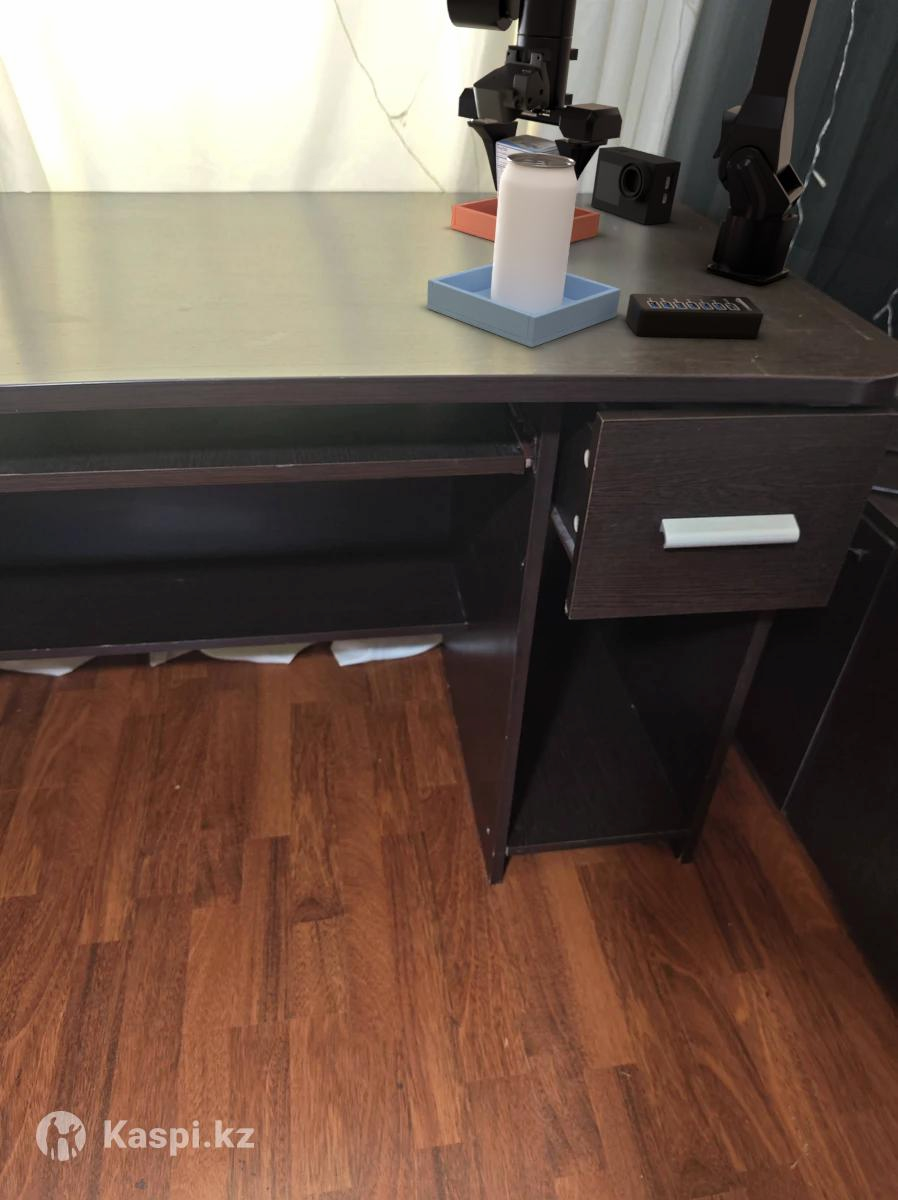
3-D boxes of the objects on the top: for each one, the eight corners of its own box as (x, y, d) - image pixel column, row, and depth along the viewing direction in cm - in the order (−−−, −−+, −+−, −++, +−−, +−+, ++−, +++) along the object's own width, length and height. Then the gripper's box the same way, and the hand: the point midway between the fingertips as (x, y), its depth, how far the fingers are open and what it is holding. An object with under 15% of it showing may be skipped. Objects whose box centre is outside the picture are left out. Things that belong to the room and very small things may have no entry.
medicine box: (567, 227, 97) (568, 143, 92) (534, 236, 96) (534, 151, 90) (528, 213, 103) (527, 132, 97) (497, 220, 101) (494, 139, 96)
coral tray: (597, 235, 100) (600, 213, 99) (531, 252, 93) (534, 228, 91) (518, 214, 106) (520, 192, 105) (450, 228, 99) (451, 205, 98)
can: (557, 322, 74) (577, 170, 67) (484, 313, 75) (495, 162, 67) (564, 299, 79) (583, 156, 72) (495, 291, 80) (507, 148, 73)
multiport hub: (624, 318, 77) (628, 292, 76) (741, 321, 78) (747, 296, 77) (636, 336, 74) (641, 309, 72) (758, 339, 75) (765, 313, 73)
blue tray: (616, 316, 77) (621, 288, 76) (531, 347, 70) (535, 317, 69) (514, 283, 84) (516, 256, 82) (426, 308, 77) (427, 279, 75)
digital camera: (582, 206, 111) (591, 147, 107) (613, 203, 114) (622, 145, 110) (637, 226, 105) (648, 163, 100) (669, 222, 107) (681, 160, 103)
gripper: (425, 28, 88) (421, 191, 98) (569, 46, 78) (548, 226, 88) (496, 27, 95) (485, 180, 104) (637, 44, 85) (611, 211, 94)
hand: (528, 198), depth 97 cm, fingers closed on medicine box, 8 cm apart
